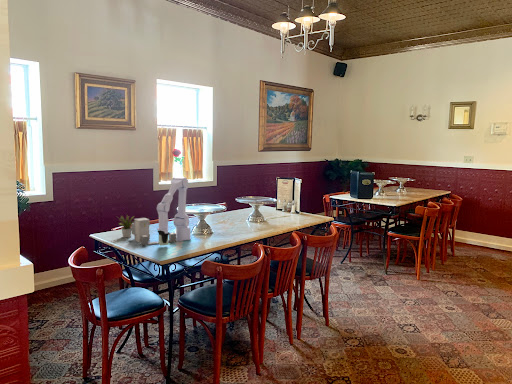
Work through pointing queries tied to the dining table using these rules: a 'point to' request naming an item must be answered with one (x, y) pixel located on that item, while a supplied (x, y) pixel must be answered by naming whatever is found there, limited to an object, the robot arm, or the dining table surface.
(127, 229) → the house plant
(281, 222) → the dining table surface
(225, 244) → the dining table surface
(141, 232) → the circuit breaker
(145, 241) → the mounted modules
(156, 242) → the steel rail
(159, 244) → the block
